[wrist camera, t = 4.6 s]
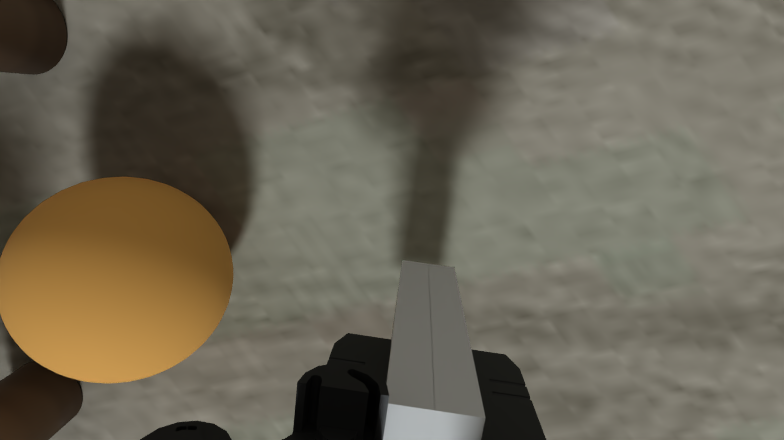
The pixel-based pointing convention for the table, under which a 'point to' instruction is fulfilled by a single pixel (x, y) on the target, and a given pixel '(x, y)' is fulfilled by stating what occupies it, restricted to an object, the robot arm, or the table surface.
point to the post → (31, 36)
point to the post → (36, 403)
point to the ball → (114, 279)
